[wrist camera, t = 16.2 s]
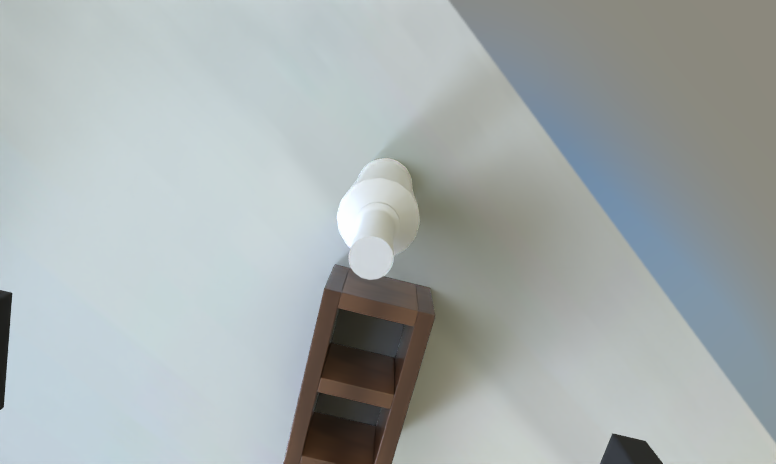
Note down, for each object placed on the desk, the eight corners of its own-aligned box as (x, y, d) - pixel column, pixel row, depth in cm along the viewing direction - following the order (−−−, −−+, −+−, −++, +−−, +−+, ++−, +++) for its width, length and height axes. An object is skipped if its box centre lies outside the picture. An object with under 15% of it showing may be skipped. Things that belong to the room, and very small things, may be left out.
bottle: (410, 212, 47) (423, 316, 22) (356, 208, 47) (311, 308, 22) (414, 158, 45) (433, 205, 21) (359, 154, 45) (315, 197, 21)
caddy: (297, 420, 52) (282, 465, 45) (334, 264, 48) (324, 288, 41) (385, 440, 52) (384, 488, 46) (430, 287, 48) (435, 315, 41)
